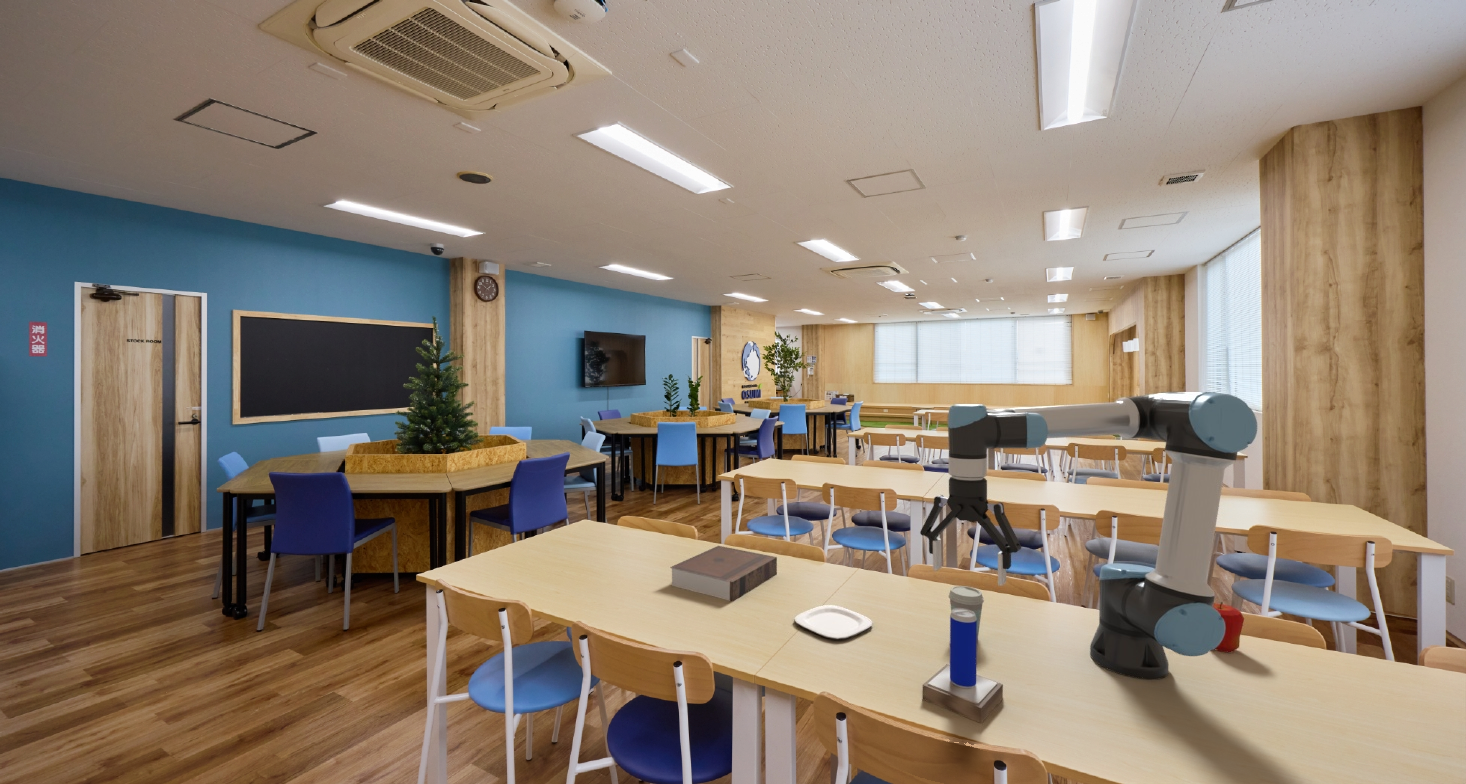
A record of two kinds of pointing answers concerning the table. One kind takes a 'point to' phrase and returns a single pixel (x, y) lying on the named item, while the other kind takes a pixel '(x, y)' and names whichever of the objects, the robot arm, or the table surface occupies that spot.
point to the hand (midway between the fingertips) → (968, 576)
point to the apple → (1230, 627)
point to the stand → (963, 695)
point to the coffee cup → (967, 600)
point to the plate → (833, 621)
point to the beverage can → (963, 648)
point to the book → (724, 572)
